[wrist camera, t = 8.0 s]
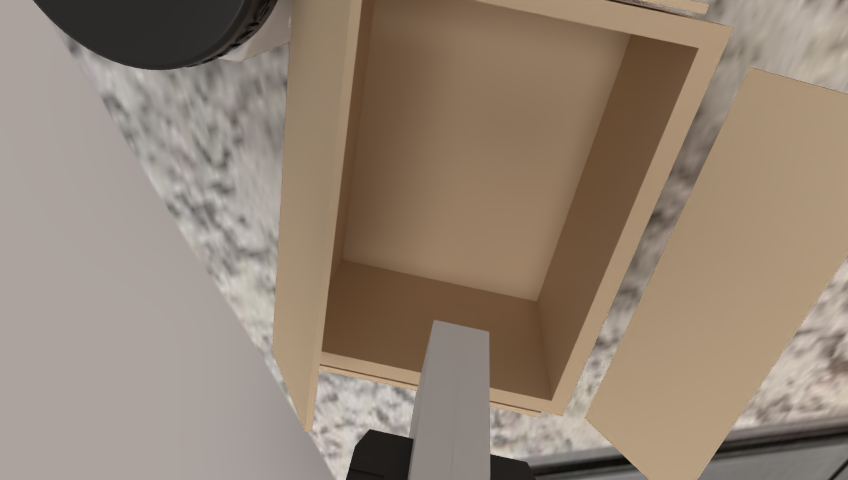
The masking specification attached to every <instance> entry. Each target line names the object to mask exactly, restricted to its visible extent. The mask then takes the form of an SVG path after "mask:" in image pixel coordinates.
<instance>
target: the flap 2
mask: <svg viewBox="0 0 848 480" xmlns="http://www.w3.org/2000/svg"><path fill="white" fill-rule="evenodd" d="M847 256H848V94H845V93H842V92H838V91H835V90H831V89H827V88H824V87H820V86H817V85H813V84H809V83H806V82H802V81H798V80H795V79H791V78H788V77H784V76H780V75H777V74H773V73H770V72H766V71H762V70H759V69H755V68H749V70H748V72H747V74H746V77H745V79H744V81H743V83H742V85H741V87H740V89H739V91H738V94H737V96H736V98H735V100H734V102H733V104H732V106H731V108H730V111H729V113H728V115H727V117H726V119H725V121H724V123H723V125H722V128H721V130H720V132H719V134H718V136H717V138H716V140H715V142H714V145H713V147H712V149H711V151H710V153H709V155H708V157H707V159H706V162H705V164H704V166H703V168H702V170H701V172H700V174H699V176H698V179H697V181H696V183H695V185H694V187H693V189H692V191H691V193H690V195H689V198H688V200H687V202H686V204H685V206H684V208H683V210H682V212H681V215H680V217H679V219H678V221H677V223H676V225H675V227H674V229H673V232H672V234H671V236H670V238H669V240H668V242H667V244H666V246H665V249H664V251H663V253H662V255H661V257H660V259H659V261H658V263H657V266H656V268H655V270H654V272H653V274H652V276H651V278H650V280H649V283H648V285H647V287H646V289H645V291H644V293H643V295H642V297H641V300H640V302H639V304H638V306H637V308H636V310H635V312H634V314H633V317H632V319H631V321H630V323H629V325H628V327H627V329H626V331H625V334H624V336H623V338H622V340H621V342H620V344H619V346H618V348H617V351H616V353H615V355H614V357H613V359H612V361H611V363H610V365H609V368H608V370H607V372H606V374H605V376H604V378H603V380H602V382H601V385H600V387H599V389H598V391H597V393H596V395H595V397H594V399H593V402H592V404H591V406H590V408H589V410H588V412H587V414H586V416H585V419H586V420H587V421H588V422H589V423H590V424H591V425H592V426H593V427H594V428H595V429H596V430H597V431H598V432H600V433H601V434H602V435H603V436H604V437H605V438H606V439H607V440H608V441H609V442H610V443H611V444H612V445H613V446H614V447H615V448H616V449H617V450H618V451H620V452H621V453H622V454H623V455H624V456H625V457H626V458H627V459H628V460H629V461H630V462H631V463H632V464H633V465H634V466H635V467H636V468H637V469H638V470H640V471H641V472H642V473H643V474H644V475H645V476H646V477H647V478H648V479H649V480H697V479H698V478H699V476H700V475H701V473H702V472H703V470H704V469H705V467H706V466H707V464H708V463H709V461H710V460H711V458H712V457H713V455H714V454H715V452H716V451H717V449H718V448H719V446H720V445H721V443H722V442H723V440H724V439H725V437H726V436H727V434H728V433H729V431H730V430H731V428H732V427H733V426H734V424H735V423H736V421H737V420H738V418H739V417H740V415H741V414H742V412H743V411H744V409H745V408H746V406H747V405H748V403H749V402H750V400H751V399H752V397H753V396H754V394H755V393H756V391H757V390H758V388H759V387H760V385H761V384H762V382H763V381H764V379H765V378H766V376H767V375H768V373H769V372H770V370H771V369H772V367H773V366H774V364H775V363H776V362H777V360H778V359H779V357H780V356H781V354H782V353H783V351H784V350H785V348H786V347H787V345H788V344H789V342H790V341H791V339H792V338H793V336H794V335H795V333H796V332H797V330H798V329H799V327H800V326H801V324H802V323H803V321H804V320H805V318H806V317H807V315H808V314H809V312H810V311H811V309H812V308H813V306H814V305H815V303H816V302H817V301H818V299H819V298H820V296H821V295H822V293H823V292H824V290H825V289H826V287H827V286H828V284H829V283H830V281H831V280H832V278H833V277H834V275H835V274H836V272H837V271H838V269H839V268H840V266H841V265H842V263H843V262H844V260H845V259H846V257H847Z"/></svg>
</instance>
